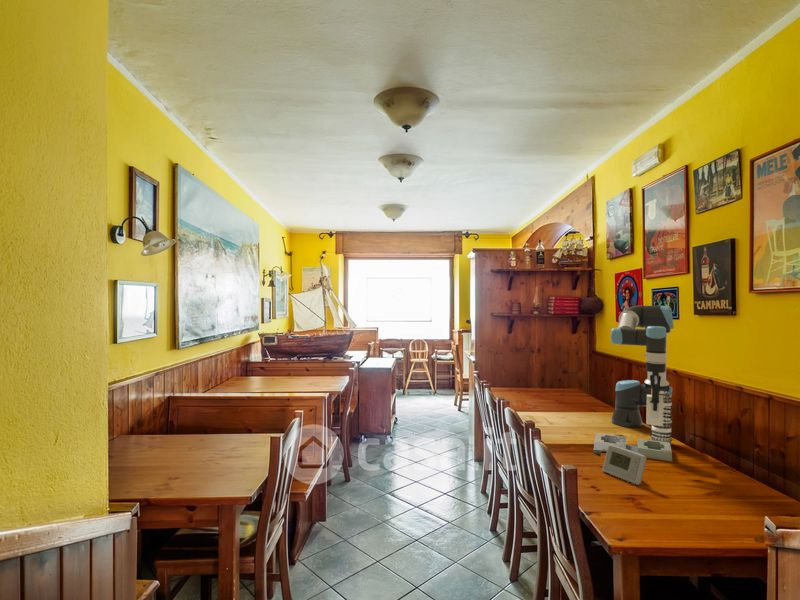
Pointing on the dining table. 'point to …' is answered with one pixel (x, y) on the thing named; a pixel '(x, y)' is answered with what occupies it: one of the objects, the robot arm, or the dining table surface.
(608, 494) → the dining table surface
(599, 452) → the board
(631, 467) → the digital clock
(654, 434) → the decorative candle
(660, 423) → the plug
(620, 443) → the socket
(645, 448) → the grey-green cross cutout frame
